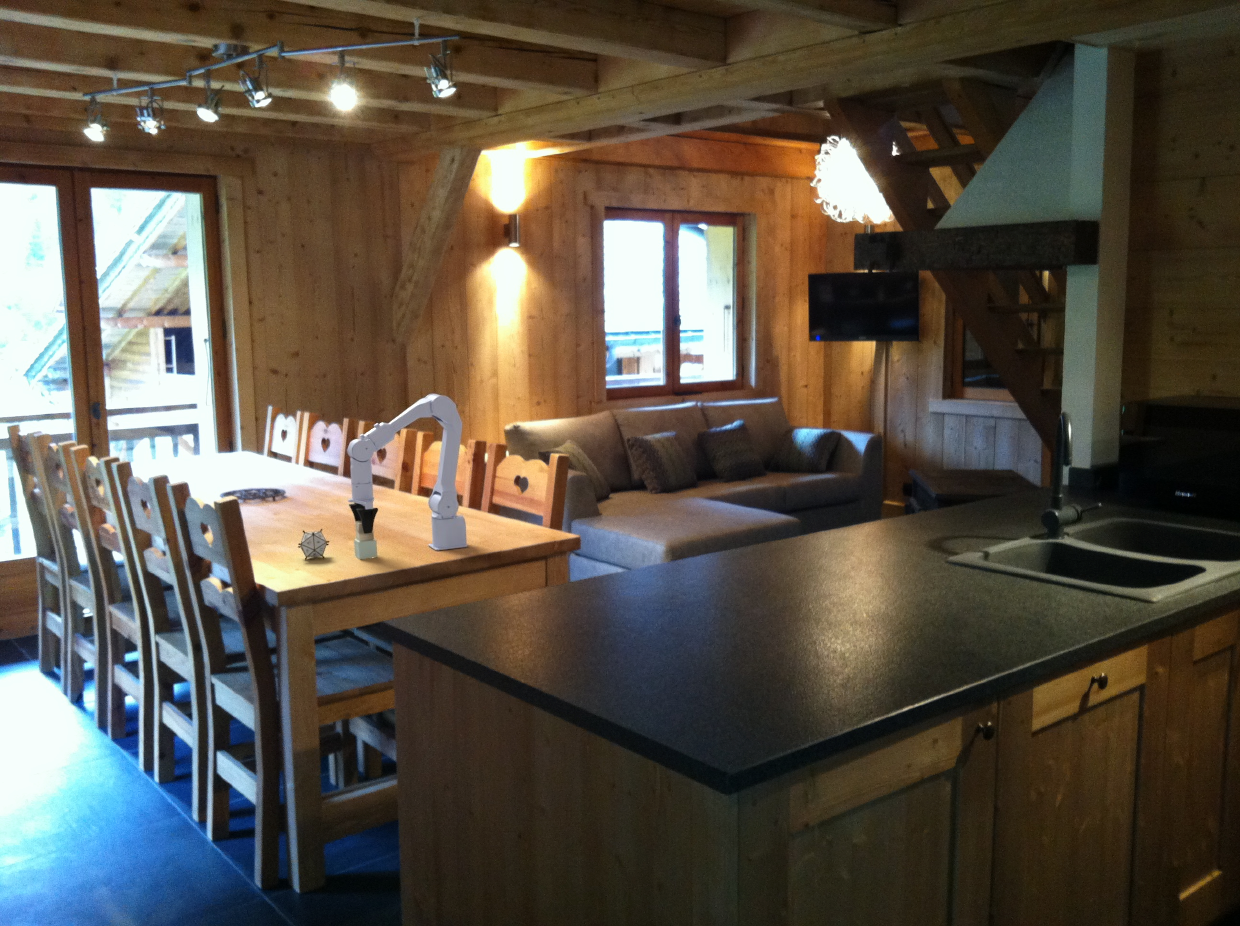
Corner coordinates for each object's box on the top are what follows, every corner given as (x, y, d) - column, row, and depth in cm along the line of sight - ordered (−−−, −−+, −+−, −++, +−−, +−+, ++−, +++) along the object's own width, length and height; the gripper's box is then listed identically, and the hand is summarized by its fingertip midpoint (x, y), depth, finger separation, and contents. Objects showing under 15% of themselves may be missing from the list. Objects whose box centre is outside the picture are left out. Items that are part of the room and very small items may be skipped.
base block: (372, 554, 307) (371, 536, 306) (377, 557, 302) (376, 540, 301) (355, 556, 304) (354, 539, 304) (359, 560, 300) (358, 542, 299)
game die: (318, 572, 302) (318, 549, 295) (291, 561, 303) (290, 537, 296) (335, 550, 308) (335, 527, 301) (309, 539, 309) (308, 516, 303)
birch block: (370, 537, 305) (369, 520, 304) (373, 540, 302) (373, 522, 301) (356, 539, 303) (355, 521, 303) (359, 541, 300) (358, 524, 299)
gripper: (341, 480, 305) (344, 527, 307) (353, 487, 292) (356, 537, 294) (366, 478, 308) (369, 525, 310) (379, 485, 295) (382, 534, 297)
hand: (364, 530), depth 302 cm, fingers open, 7 cm apart
